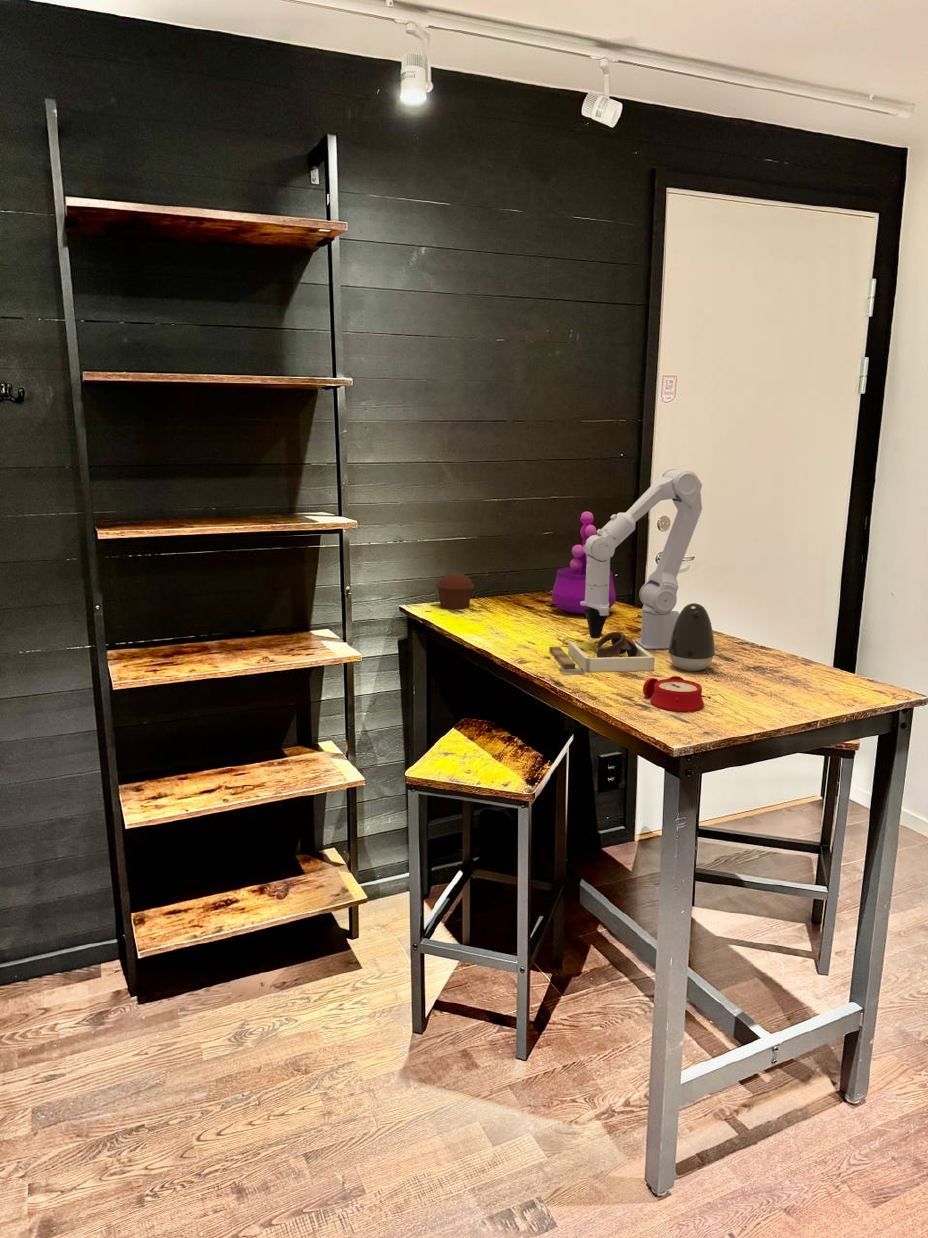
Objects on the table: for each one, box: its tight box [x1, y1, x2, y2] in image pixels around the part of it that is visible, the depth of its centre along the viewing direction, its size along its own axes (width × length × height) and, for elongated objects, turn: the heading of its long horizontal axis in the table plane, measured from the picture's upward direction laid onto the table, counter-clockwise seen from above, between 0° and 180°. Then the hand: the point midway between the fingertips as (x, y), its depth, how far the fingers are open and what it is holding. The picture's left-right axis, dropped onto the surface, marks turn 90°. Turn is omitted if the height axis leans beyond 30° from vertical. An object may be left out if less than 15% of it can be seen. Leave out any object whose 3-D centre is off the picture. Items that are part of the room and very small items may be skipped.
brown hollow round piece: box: [595, 630, 639, 658], centre depth 201 cm, size 12×10×8 cm
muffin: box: [436, 572, 475, 611], centre depth 258 cm, size 12×11×10 cm
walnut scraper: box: [548, 646, 586, 676], centre depth 199 cm, size 20×5×2 cm, turn 7°
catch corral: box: [567, 641, 656, 673], centre depth 200 cm, size 16×16×3 cm
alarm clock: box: [642, 675, 711, 714], centre depth 171 cm, size 10×6×15 cm
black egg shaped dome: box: [668, 602, 716, 672], centre depth 194 cm, size 10×10×15 cm
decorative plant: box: [551, 511, 616, 615], centre depth 250 cm, size 19×18×30 cm
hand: (595, 637), depth 212 cm, fingers closed
